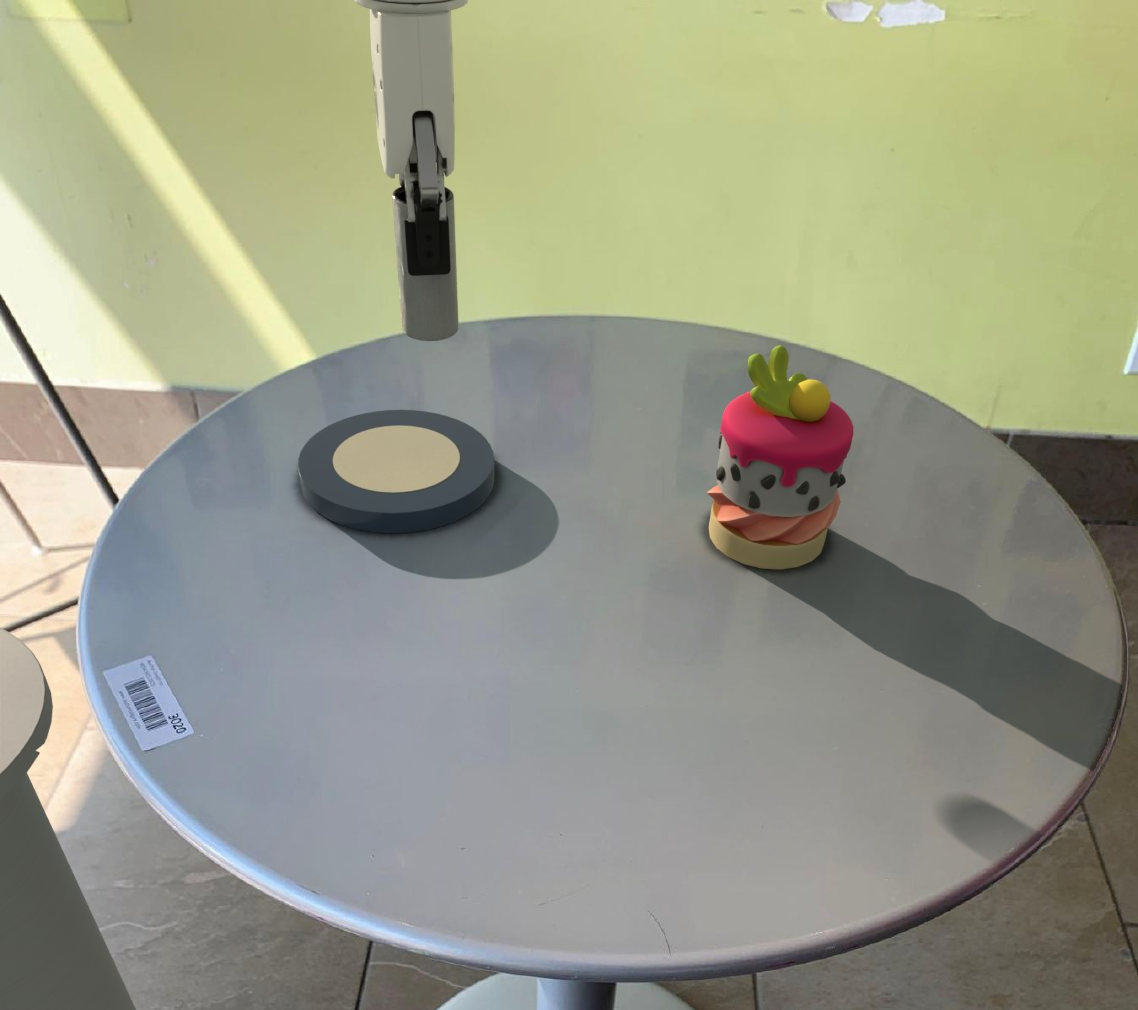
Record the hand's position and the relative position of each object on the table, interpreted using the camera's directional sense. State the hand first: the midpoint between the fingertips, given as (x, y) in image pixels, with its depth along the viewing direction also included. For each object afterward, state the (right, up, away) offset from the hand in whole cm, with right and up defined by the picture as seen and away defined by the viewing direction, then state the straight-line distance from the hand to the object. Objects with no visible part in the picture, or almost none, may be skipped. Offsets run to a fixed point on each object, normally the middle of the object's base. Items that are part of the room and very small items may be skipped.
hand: (425, 256), depth 85 cm
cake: (+28, -20, +9) cm, 35 cm away
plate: (-4, -14, +13) cm, 19 cm away
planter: (0, -4, +4) cm, 6 cm away
